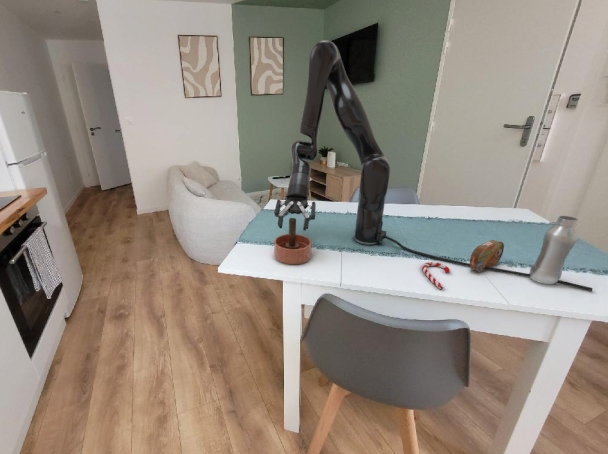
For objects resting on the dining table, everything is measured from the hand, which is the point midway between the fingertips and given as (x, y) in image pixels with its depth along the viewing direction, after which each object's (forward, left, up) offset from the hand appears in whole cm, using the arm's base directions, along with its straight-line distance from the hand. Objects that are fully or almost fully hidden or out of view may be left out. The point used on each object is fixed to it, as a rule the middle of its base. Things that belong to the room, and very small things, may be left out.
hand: (292, 228), depth 101 cm
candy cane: (-46, +1, -12) cm, 47 cm away
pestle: (0, -1, -11) cm, 11 cm away
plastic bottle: (-74, -4, -12) cm, 75 cm away
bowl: (0, -1, -12) cm, 12 cm away
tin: (-61, -9, -12) cm, 63 cm away
